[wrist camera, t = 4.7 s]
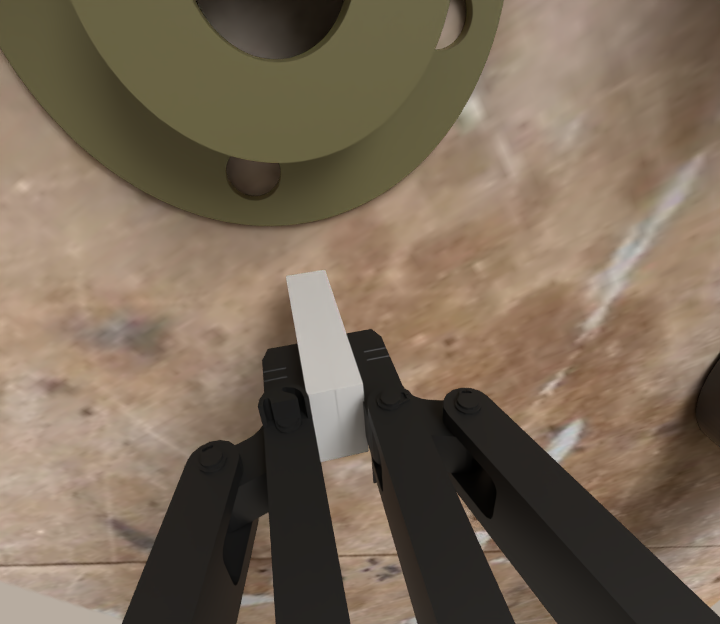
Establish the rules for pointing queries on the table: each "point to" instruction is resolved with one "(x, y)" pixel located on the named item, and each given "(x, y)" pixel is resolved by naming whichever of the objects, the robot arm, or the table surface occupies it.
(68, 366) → the table surface
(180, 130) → the flange
